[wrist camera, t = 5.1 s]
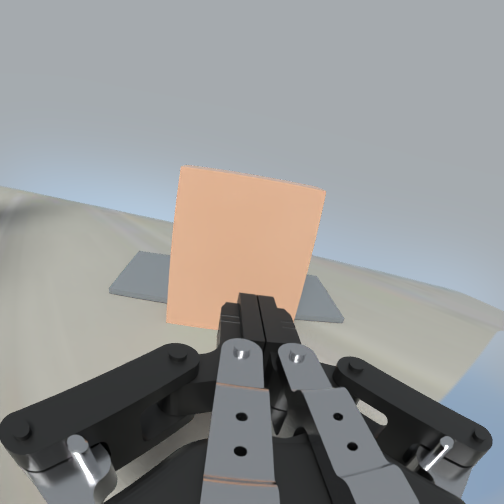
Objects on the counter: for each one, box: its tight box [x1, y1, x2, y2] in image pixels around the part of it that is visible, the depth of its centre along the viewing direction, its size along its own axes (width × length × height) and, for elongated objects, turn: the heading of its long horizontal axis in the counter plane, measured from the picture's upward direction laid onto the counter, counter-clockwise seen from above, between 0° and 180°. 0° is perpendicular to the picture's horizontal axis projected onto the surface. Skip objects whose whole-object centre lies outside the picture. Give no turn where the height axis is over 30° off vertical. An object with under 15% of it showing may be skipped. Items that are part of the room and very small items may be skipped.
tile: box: [166, 165, 326, 330], centre depth 22 cm, size 10×3×12 cm, turn 94°
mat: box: [109, 251, 344, 323], centre depth 30 cm, size 22×10×1 cm, turn 94°
